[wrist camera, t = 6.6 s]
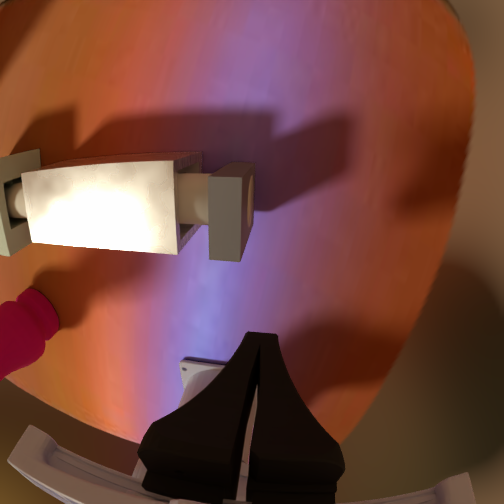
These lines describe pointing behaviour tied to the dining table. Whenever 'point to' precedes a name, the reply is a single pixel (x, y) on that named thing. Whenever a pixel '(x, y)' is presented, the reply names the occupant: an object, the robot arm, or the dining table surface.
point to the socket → (4, 228)
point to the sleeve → (111, 202)
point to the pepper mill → (25, 330)
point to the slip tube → (199, 206)
